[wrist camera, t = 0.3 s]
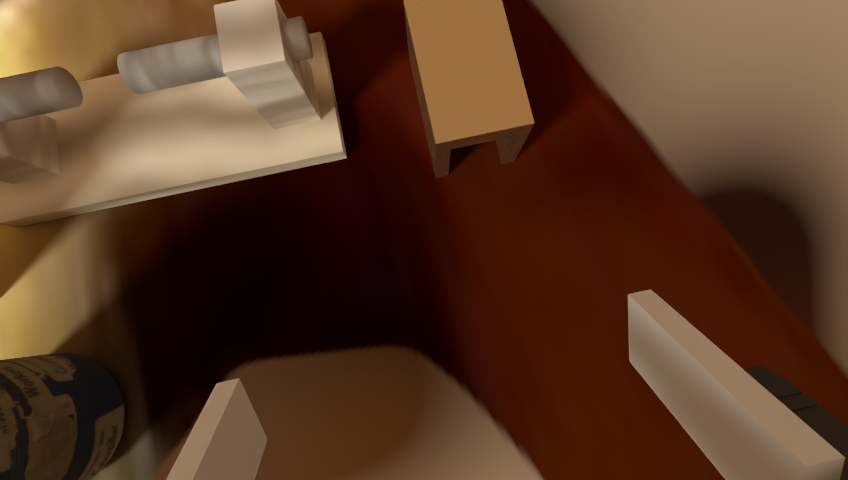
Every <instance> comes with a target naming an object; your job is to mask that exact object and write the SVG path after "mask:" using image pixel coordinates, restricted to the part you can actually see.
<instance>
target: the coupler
mask: <svg viewBox="0 0 848 480" xmlns="http://www.w3.org/2000/svg"><path fill="white" fill-rule="evenodd" d="M403 1H404V11H405V20H406V30H407V40H408V49H409V59H410V64H411V69H412V73H413V78H414V83H415V87H416V92H417V96H418V101H419V105H420V110H421V114H422V119H423V123H424V128H425V132H426V137H427V141H428V146H429V150H430V155H431V159H432V164H433V168H434V173H435V177H436V178H437V177H442V176H447V175H448V174H449V163H450V153H451V149H455V148H460V147H465V146H470V145H474V144H479V143H484V142H489V141H494V140H496V143H497V147H498V151H499V155H500V159H501V163H502V164H504V163H509V162H513V161H515V159H516V157H517V155H518V154H519V152H520V150H521V148H522V146H523V144H524V142H525V140H526V138H527V137H528V135H529V133H530V131H531V129H532V127H533V125H534V119H533V115H532V112H531V108H530V104H529V100H528V97H527V93H526V89H525V85H524V81H523V78H522V74H521V70H520V66H519V63H518V59H517V55H516V51H515V48H514V44H513V40H512V36H511V33H510V29H509V25H508V21H507V17H506V14H505V10H504V6H503V2H502V0H403Z"/></svg>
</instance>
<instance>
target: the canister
mask: <svg viewBox="0 0 848 480" xmlns="http://www.w3.org/2000/svg"><path fill="white" fill-rule="evenodd" d="M124 416H125V414H124V403H123V398H122V394H121V392H120V389H119V387H118V385H117V383H116V382H115V380H114V379H113V377H112V376H111V375H110V374H109V373H108V371H106V370H105V369H104V368H103V367H102V366H100V365H99V364H98V363H96V362H94V361H92V360H90V359H88V358H85V357H83V356H79V355H75V354H48V355H38V356H30V357H22V358H14V359H6V360H0V480H91V479H92V478H93V477H94V476H96V475H97V474H98V473H99V472H100V471H101V470H102V468H103V467H104V466H105V465H106V464H107V462H108V461H109V460H110V458H111V457H112V455H113V453H114V452H115V450H116V448H117V446H118V444H119V441H120V439H121V436H122V434H123V428H124Z"/></svg>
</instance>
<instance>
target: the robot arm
mask: <svg viewBox="0 0 848 480" xmlns="http://www.w3.org/2000/svg"><path fill="white" fill-rule="evenodd" d="M628 324H629V361H630V362H631V364H632V365H633V366H634V367H635V369H636V370H637V371H638V372H639V373H640V375H641V376H642V377H643V378H644V380H645V381H646V382H647V383H648V385H649V386H650V387H651V388H652V390H653V391H654V392H655V393H656V394H657V396H658V397H659V398H660V399H661V401H662V402H663V403H664V404H665V406H666V407H667V408H668V409H669V410H670V412H671V413H672V414H673V415H674V417H675V418H676V419H677V420H678V422H679V423H680V424H681V425H682V427H683V428H684V429H685V430H686V431H687V433H688V434H689V435H690V436H691V438H692V439H693V440H694V441H695V443H696V444H697V445H698V446H699V448H700V449H701V450H702V451H703V452H704V454H705V455H706V456H707V457H708V459H709V460H710V461H711V462H712V464H713V465H714V466H715V467H716V469H717V470H718V471H719V472H720V473H721V475H722V476H723V477H724V478H725V480H848V428H847V427H846V426H845V425H844V424H842V423H841V422H840V421H839V420H837V419H836V418H835V417H834V416H832V415H831V414H830V413H828V412H827V411H826V410H825V409H823V408H820V407H819V405H818V404H817V403H816V402H815V401H813V400H812V399H811V398H810V397H808V396H807V395H804V394H803V392H802V391H801V390H800V389H798V388H797V387H796V386H795V385H793V384H792V383H791V382H790V381H788V380H787V379H786V378H784V377H783V376H781V375H779V374H777V373H774V372H772V371H770V370H768V369H766V368H764V367H762V366H756V367H751V368H747V369H742V368H741V367H740V366H739V365H737V364H736V363H735V362H734V361H733V360H732V359H731V358H729V357H728V356H727V355H726V354H725V353H724V352H722V351H721V350H720V349H719V348H718V347H717V346H716V345H714V344H713V343H712V342H711V341H710V340H709V339H707V338H706V337H705V336H704V335H703V334H702V333H700V332H699V331H698V330H697V329H696V328H695V327H694V326H692V325H691V324H690V323H689V322H688V321H687V320H685V319H684V318H683V317H682V316H681V315H680V314H679V313H677V312H676V311H675V310H674V309H673V308H672V307H670V306H669V305H668V304H667V303H666V302H665V301H664V300H662V299H661V298H660V297H659V296H658V295H657V294H655V293H654V292H653V291H652V290H651V289H650V290H646V291H641V292H636V293H632V294H628ZM266 441H267V437H266V436H265V433H264V431H263V429H262V427H261V425H260V422H259V420H258V418H257V416H256V414H255V412H254V409H253V407H252V405H251V403H250V401H249V399H248V396H247V394H246V392H245V390H244V388H243V385H242V383H241V381H240V379H234V380H230V381H225V382H220V383H217V384H216V386H215V387H214V389H213V391H212V393H211V395H210V397H209V399H208V401H207V403H206V405H205V406H204V408H203V410H202V412H201V414H200V416H199V418H198V420H197V422H196V424H195V426H194V427H193V429H192V431H191V433H190V435H189V437H188V439H187V441H186V443H185V445H184V447H183V448H182V450H181V452H180V454H179V456H178V458H177V460H176V462H175V464H174V466H173V468H172V469H171V471H170V473H169V475H168V477H167V479H166V480H254V479H255V476H256V473H257V470H258V467H259V463H260V460H261V457H262V454H263V451H264V448H265V444H266Z"/></svg>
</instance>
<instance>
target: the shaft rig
mask: <svg viewBox="0 0 848 480" xmlns="http://www.w3.org/2000/svg"><path fill="white" fill-rule="evenodd" d="M214 12H215V18H216V25H217V32H218V33H217V34H212V35H207V36H203V37H198V38H193V39H188V40H183V41H178V42H174V43H169V44H164V45H159V46H154V47H149V48H145V49H140V50H135V51H130V52H125V53H121V54H119V55H118V58H117V65H118V69H119V72H120V73H119V74H114V75H109V76H104V77H99V78H95V79H90V80H85V81H80V82H77V81H76V79H75V78H74V77H73V76H72V75H71V74H70V73H69V72H68V71H67V70H65V69H64V68H61V67H53V68H48V69H43V70H38V71H33V72H28V73H24V74H19V75H14V76H9V77H4V78H0V224H5V225H10V226H15V227H21V226H25V225H30V224H35V223H40V222H44V221H49V220H54V219H59V218H64V217H68V216H73V215H78V214H83V213H88V212H92V211H97V210H102V209H107V208H111V207H116V206H121V205H126V204H131V203H135V202H140V201H145V200H150V199H154V198H159V197H164V196H169V195H174V194H178V193H183V192H188V191H193V190H197V189H202V188H207V187H212V186H217V185H221V184H226V183H231V182H236V181H240V180H245V179H250V178H255V177H260V176H264V175H269V174H274V173H279V172H283V171H288V170H293V169H298V168H303V167H307V166H312V165H317V164H322V163H326V162H331V161H336V160H341V159H346V158H347V155H346V150H345V144H344V139H343V134H342V129H341V123H340V118H339V113H338V107H337V102H336V97H335V92H334V86H333V81H332V76H331V70H330V65H329V60H328V55H327V49H326V44H325V41H324V39H323V36H322V34H321V32H317V33H312V34H308V31H307V28H306V25H305V22H304V20H303V18H302V17H301V16H299V17H295V18H290V19H287V18H286V16H285V15H284V13H283V11H282V9H281V7H280V5H279V3H278V1H277V0H237V1H232V2H227V3H223V4H218V5H214Z"/></svg>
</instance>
